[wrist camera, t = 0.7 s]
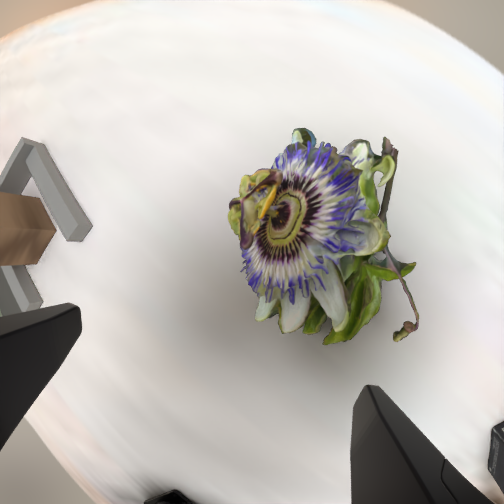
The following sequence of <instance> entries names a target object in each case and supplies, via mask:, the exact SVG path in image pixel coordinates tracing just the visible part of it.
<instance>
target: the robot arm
mask: <svg viewBox="0 0 504 504" xmlns="http://www.w3.org/2000/svg"><path fill="white" fill-rule="evenodd" d="M81 332H82V321H81V311H80V308H79V307H78V306H77V305H74V304H72V303H64V304H60V305H55V306H50V307H45V308H40V309H36V310H31V311H26V312H21V313H16V314H12V315H7V316H2V317H0V451H1V449H2V448H3V446H4V445H5V443H6V441H7V440H8V438H9V437H10V435H11V434H12V433H13V431H14V429H15V428H16V427H17V425H18V424H19V422H20V421H21V419H22V418H23V417H24V415H25V414H26V412H27V411H28V410H29V408H30V407H31V405H32V404H33V403H34V401H35V400H36V399H37V397H38V396H39V394H40V393H41V392H42V390H43V389H44V388H45V386H46V385H47V384H48V382H49V381H50V380H51V378H52V377H53V376H54V374H55V373H56V372H57V370H58V369H59V368H60V366H61V365H62V363H63V362H64V360H65V358H66V357H67V355H68V354H69V352H70V350H71V349H72V347H73V346H74V344H75V342H76V341H77V339H78V338H79V336H80V334H81ZM350 461H351V504H494V503H493V502H492V501H490V500H489V499H488V498H487V497H486V496H485V495H484V494H482V493H481V492H480V491H479V490H478V489H477V488H476V487H474V486H473V485H472V484H471V483H470V482H469V481H468V480H467V479H466V478H465V477H464V476H463V475H462V474H461V473H460V472H459V471H458V470H457V469H456V468H455V467H454V466H453V465H452V464H451V463H450V462H449V461H448V460H447V459H445V457H444V456H443V454H442V453H441V452H440V451H439V450H438V449H437V448H436V447H435V446H434V445H433V444H432V443H431V442H430V440H429V439H428V438H427V437H426V436H425V435H424V434H423V433H422V432H421V431H420V430H419V429H418V428H417V426H416V425H415V424H414V423H413V422H412V421H411V420H410V419H409V418H408V417H407V416H406V415H405V414H404V412H403V411H402V410H401V409H400V408H399V407H398V406H397V405H396V404H395V403H394V402H393V401H392V400H391V398H390V397H389V396H388V395H387V394H386V393H385V392H384V391H383V390H382V389H381V388H380V387H379V386H375V385H365V386H364V388H363V389H362V391H361V393H360V395H359V397H358V399H357V400H356V402H355V404H354V407H353V418H352V435H351V449H350ZM144 504H193V503H191V502H190V501H189V500H188V499H187V498H185V497H184V496H183V495H182V494H181V493H179V492H178V491H176V490H172V491H169V492H167V493H165V494H162V495H159V496H157V497H154V498H152V499H149V500H146V501H145V502H144Z"/></svg>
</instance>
